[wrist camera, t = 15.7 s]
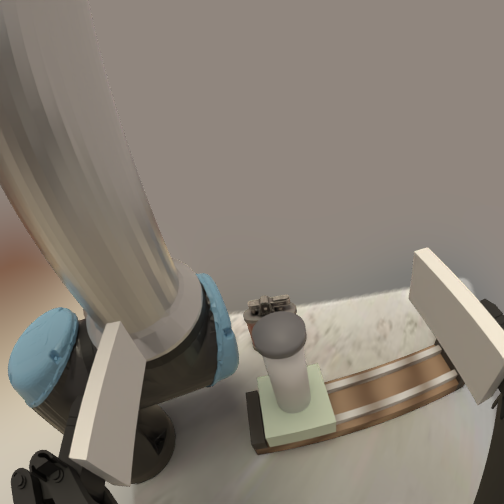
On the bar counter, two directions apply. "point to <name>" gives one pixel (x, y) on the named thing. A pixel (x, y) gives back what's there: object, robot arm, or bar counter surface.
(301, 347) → the carriage
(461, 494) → the bar counter surface
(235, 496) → the bar counter surface
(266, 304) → the lighter
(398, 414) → the rail track
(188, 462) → the bar counter surface
